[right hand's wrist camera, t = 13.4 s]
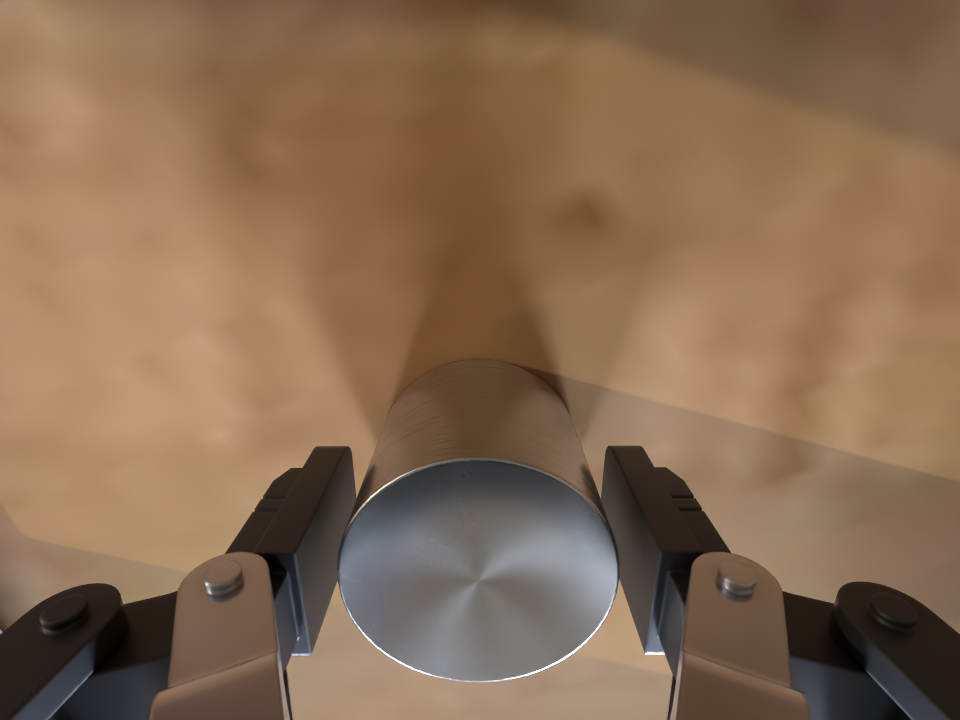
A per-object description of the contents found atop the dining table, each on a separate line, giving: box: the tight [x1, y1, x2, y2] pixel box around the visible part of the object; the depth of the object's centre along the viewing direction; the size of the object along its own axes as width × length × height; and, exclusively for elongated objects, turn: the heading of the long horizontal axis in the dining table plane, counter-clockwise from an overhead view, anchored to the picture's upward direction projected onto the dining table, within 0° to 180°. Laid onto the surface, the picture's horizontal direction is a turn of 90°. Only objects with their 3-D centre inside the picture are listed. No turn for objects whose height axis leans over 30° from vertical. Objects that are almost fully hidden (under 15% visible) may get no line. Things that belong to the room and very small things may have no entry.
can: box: [337, 359, 620, 682], centre depth 11 cm, size 5×5×5 cm
